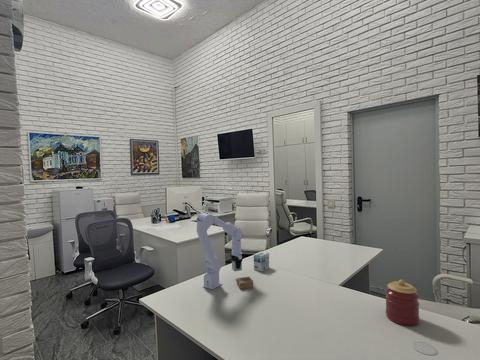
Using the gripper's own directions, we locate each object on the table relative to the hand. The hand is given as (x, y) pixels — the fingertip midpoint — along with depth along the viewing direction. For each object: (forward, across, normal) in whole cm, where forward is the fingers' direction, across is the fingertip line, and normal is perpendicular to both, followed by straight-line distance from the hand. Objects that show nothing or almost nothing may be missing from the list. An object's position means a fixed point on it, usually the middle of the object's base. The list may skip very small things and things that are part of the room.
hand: (236, 267), depth 171 cm
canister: (+7, -74, -53) cm, 91 cm away
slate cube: (+2, 0, 0) cm, 2 cm away
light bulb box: (+7, +10, -22) cm, 25 cm away
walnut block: (+7, -14, 0) cm, 16 cm away
